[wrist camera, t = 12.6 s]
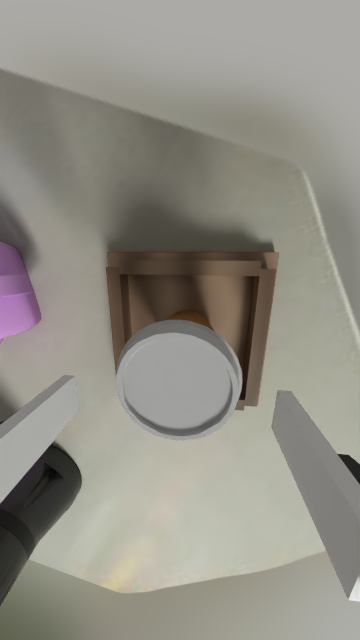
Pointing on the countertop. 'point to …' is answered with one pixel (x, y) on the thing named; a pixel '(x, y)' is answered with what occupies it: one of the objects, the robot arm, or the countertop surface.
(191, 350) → the disposable coffee cup
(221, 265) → the cup caddy
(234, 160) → the countertop surface
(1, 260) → the teakettle
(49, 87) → the countertop surface
